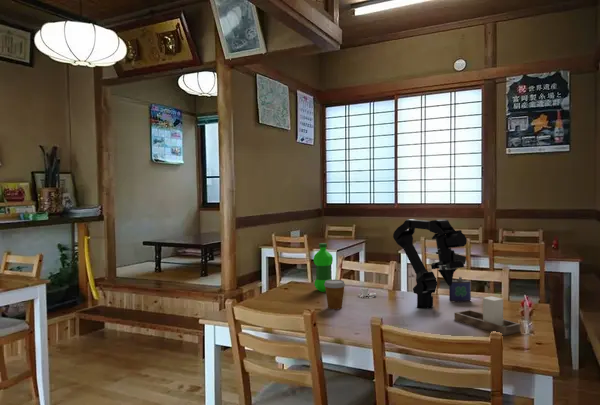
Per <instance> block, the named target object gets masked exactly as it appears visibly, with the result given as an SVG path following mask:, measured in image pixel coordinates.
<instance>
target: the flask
mask: <svg viewBox="0 0 600 405" xmlns="http://www.w3.org/2000/svg"><path fill="white" fill-rule="evenodd" d="M471 283H472V282H471V280H468V279H467V280H463V277H462V276H458V279H452V285H451V286H448V288H449V290H448V291H449V299H448V300H449V302H451V301H469V302H471V301H470V300H472V295H471V294H472V293H471V292H472V289H471Z"/></svg>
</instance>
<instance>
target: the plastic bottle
mask: <svg viewBox="0 0 600 405" xmlns="http://www.w3.org/2000/svg"><path fill="white" fill-rule="evenodd" d="M318 248H319V250H318V251H317V252H316V253H315V254H314V256H313V264H314V265H315V281H314V287H315V289H317V290H318V292H322V293H326V292H325V291H326V289H325V285H324V284H325V281H326V280H332V278H331V276H332V275H331V273H332V272H331V269H332V268H331V266H332V265H333V261H334V260H333V255H332V254H331V253H330V252H329V251H328V250H327V248H328V243H326V242H321V243H320V242H319V243H318Z"/></svg>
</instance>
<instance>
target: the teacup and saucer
mask: <svg viewBox="0 0 600 405" xmlns="http://www.w3.org/2000/svg"><path fill="white" fill-rule="evenodd" d="M361 291H362V292H361ZM369 291H370V289H369V288H366V287H365V288H362V289H360V290H359V292H360V293H361V294H362V295H361V297H362V299H364V298H363V297H364V296H368V297H369V298H368V299H372V298H374V297H376V296H377V293H376V292H370V293H369ZM368 294H369V295H368Z"/></svg>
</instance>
